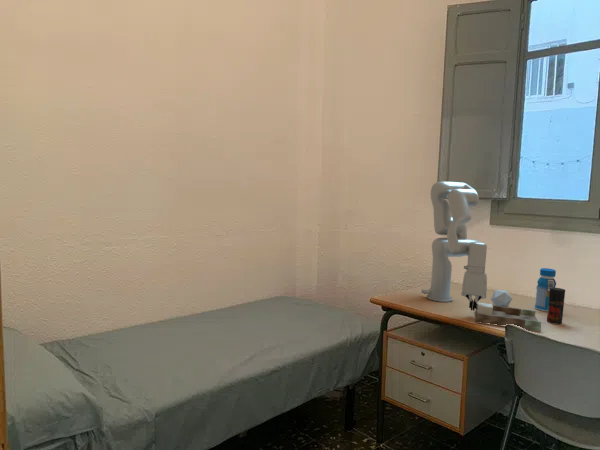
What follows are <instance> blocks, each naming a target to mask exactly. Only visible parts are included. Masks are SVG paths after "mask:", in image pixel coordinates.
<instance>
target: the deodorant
mask: <svg viewBox="0 0 600 450" xmlns="http://www.w3.org/2000/svg"><path fill="white" fill-rule="evenodd" d="M565 297H566V289H564V288H560V287H555V288H550V294H549V304H548V312H547V316H546V322H547V323H549V324H554V325H561V324H562V323H563V318H564V317H563V316H564V315H563V314H564V309H565V308H564V305H565Z"/></svg>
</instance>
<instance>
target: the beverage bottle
mask: <svg viewBox="0 0 600 450" xmlns="http://www.w3.org/2000/svg"><path fill="white" fill-rule="evenodd" d="M556 272H557V271H556V269H553V268H549V267H547V268H546V267H541V268H540V269H539V278H538V279H537V282H536V283H537V285H536V294H535V304H534V308H535V310H538V311H540V312H541V311H542V312H546V313H548V304H549V294H550V288H556V287H557V282H556V279H555V278H556V275H557V274H556Z"/></svg>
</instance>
